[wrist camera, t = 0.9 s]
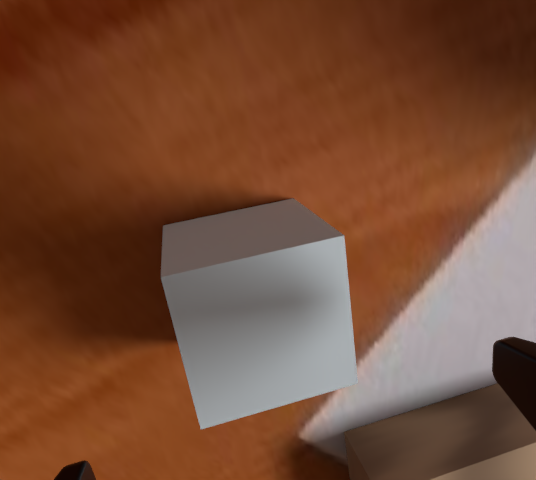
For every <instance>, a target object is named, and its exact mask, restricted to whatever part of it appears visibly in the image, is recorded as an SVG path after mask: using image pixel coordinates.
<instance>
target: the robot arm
mask: <svg viewBox="0 0 536 480" xmlns="http://www.w3.org/2000/svg"><path fill="white" fill-rule="evenodd" d="M492 372H493V375H494V378H495V380H496V381H497V383H498V384H499V385H500V387H501V388H502V389H503V390H504V392H505V393H506V394H507V395H508V397H509V398H510V399H511V400H512V402H513V403H514V404H515V406H516V407H517V408H518V409H519V411H520V412H521V413H522V414H523V416H524V417H525V418H526V419H527V421H528V422H529V423H530V425H531V426H532V427H533V428H534V430H535V431H536V343H534V342H531V341H527V340H523V339H520V338H516V337H508V338H504V339H501V340H498V341H496V342H495V343H494V345H493V363H492ZM54 480H96V478H95V476H94V473H93V471H92V468H91V466H90V464H89V463H88V461H80V462H77V463H73V464H70V465H67V466H65V467H64V468H63V469H62V470H61V471H60V472H59V474H58V475H57V476H56V477H55V479H54Z"/></svg>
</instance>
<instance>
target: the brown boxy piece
mask: <svg viewBox="0 0 536 480" xmlns="http://www.w3.org/2000/svg"><path fill="white" fill-rule="evenodd" d="M344 435H345V444H346V452H347V461H348V469H349V478H350V480H536V431H535V430H534V428H533V427H532V426H531V425H530V423H529V422H528V421H527V419H526V418H525V417H524V416H523V414H522V413H521V412H520V411H519V409H518V408H517V407H516V406H515V404H514V403H513V402H512V400H511V399H510V398H509V397H508V395H507V394H506V393H505V392H504V390H503V389H502V388H501V387H500V385H499V384H498V383H497V384H494V385H491V386H488V387H485V388H481V389H478V390H475V391H472V392H469V393H466V394H462V395H459V396H456V397H453V398H450V399H447V400H443V401H440V402H437V403H434V404H431V405H428V406H425V407H421V408H418V409H415V410H412V411H409V412H406V413H402V414H399V415H396V416H393V417H390V418H387V419H384V420H380V421H377V422H374V423H371V424H368V425H365V426H361V427H358V428H355V429H352V430H349V431H346V432H344Z"/></svg>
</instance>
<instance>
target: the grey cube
mask: <svg viewBox="0 0 536 480" xmlns="http://www.w3.org/2000/svg"><path fill="white" fill-rule="evenodd" d="M161 281H162V284H163V288H164V292H165V296H166V299H167V303H168V307H169V311H170V315H171V318H172V322H173V326H174V330H175V333H176V337H177V341H178V345H179V349H180V352H181V356H182V360H183V364H184V368H185V371H186V375H187V379H188V383H189V386H190V390H191V394H192V398H193V402H194V405H195V409H196V413H197V417H198V421H199V424H200V428H201V429H204V428H208V427H211V426H215V425H218V424H221V423H225V422H228V421H232V420H235V419H238V418H242V417H245V416H249V415H252V414H256V413H259V412H262V411H266V410H269V409H273V408H276V407H279V406H283V405H286V404H290V403H293V402H296V401H300V400H303V399H307V398H310V397H314V396H317V395H320V394H324V393H327V392H331V391H334V390H337V389H341V388H344V387H348V386H351V385H354V384H358V379H357V369H356V358H355V347H354V336H353V325H352V315H351V304H350V293H349V282H348V272H347V261H346V250H345V239H344V235H343V234H341V233H340V232H339V231H337V230H336V229H335V228H333V227H332V226H331V225H329V224H328V223H326V222H325V221H324V220H322V219H321V218H320V217H318V216H317V215H315V214H314V213H313V212H311V211H310V210H309V209H307V208H306V207H305V206H303V205H302V204H300V203H299V202H298V201H296V200H295V199H294V198H293V199H288V200H283V201H278V202H274V203H269V204H264V205H259V206H254V207H249V208H245V209H240V210H235V211H230V212H225V213H221V214H216V215H211V216H206V217H201V218H197V219H192V220H187V221H182V222H177V223H172V224H168V225H163V236H162V258H161Z"/></svg>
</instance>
